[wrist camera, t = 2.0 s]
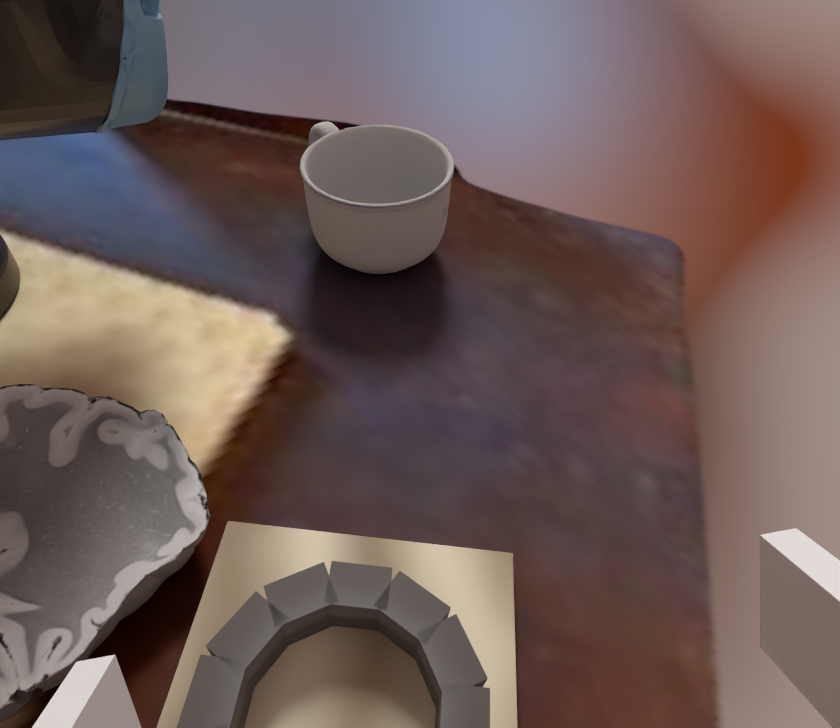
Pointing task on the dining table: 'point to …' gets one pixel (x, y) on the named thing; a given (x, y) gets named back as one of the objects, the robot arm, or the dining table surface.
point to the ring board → (348, 635)
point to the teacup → (376, 194)
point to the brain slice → (83, 526)
